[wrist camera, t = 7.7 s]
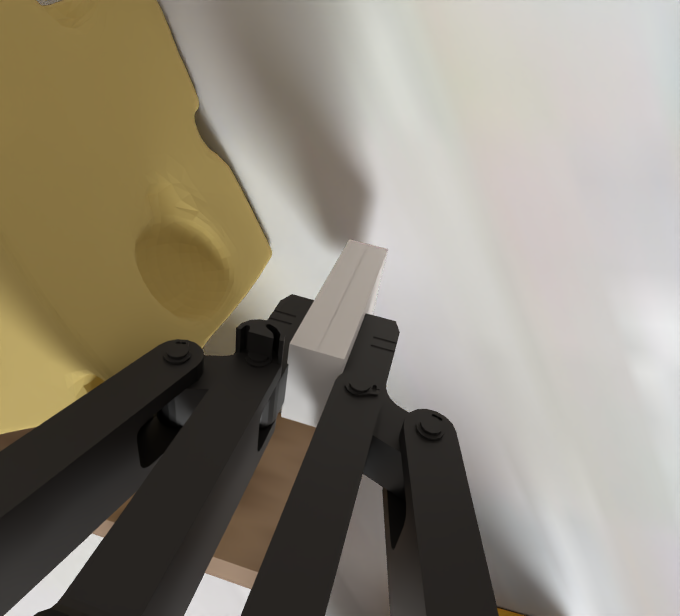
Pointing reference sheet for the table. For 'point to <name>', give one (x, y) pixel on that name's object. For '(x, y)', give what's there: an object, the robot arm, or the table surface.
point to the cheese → (106, 203)
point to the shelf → (245, 503)
